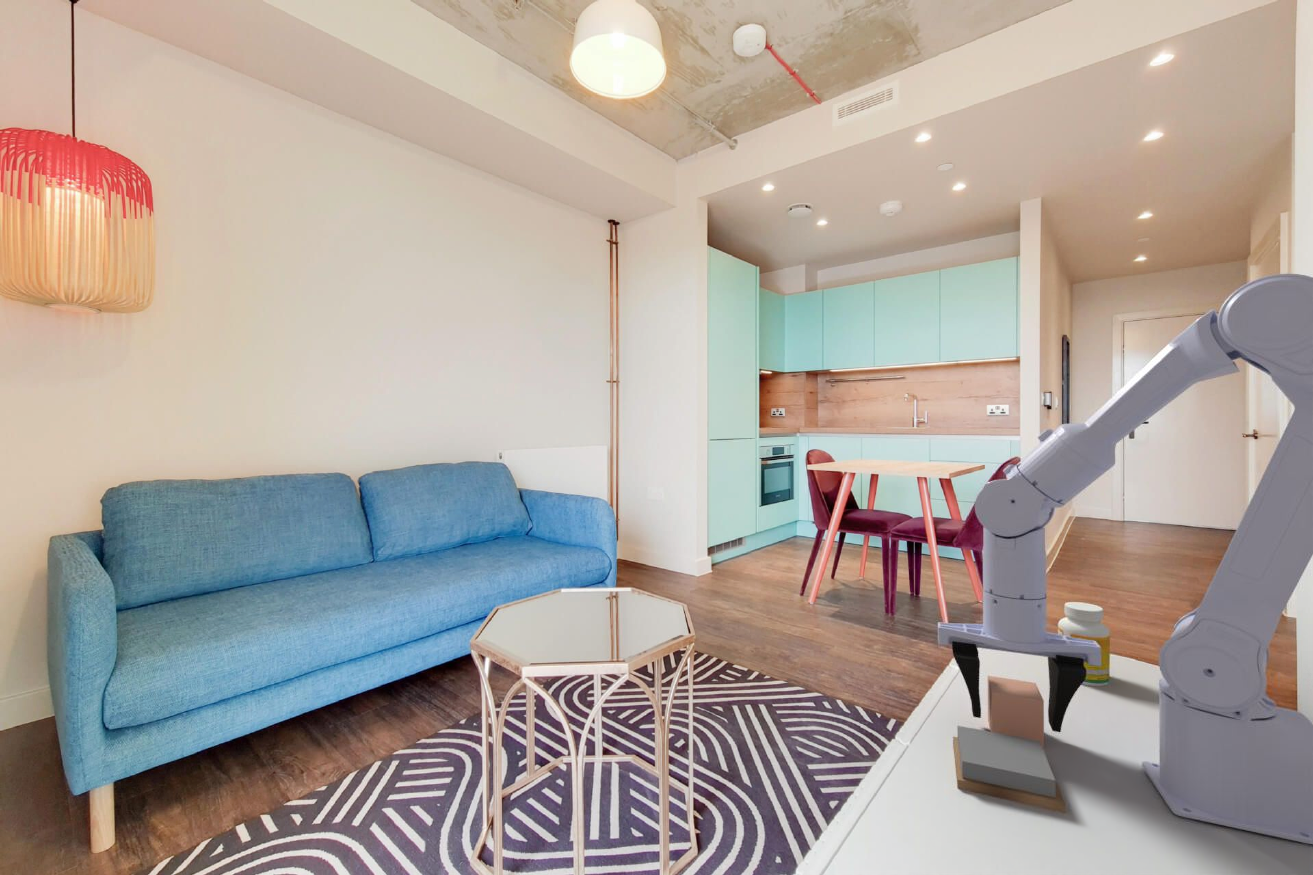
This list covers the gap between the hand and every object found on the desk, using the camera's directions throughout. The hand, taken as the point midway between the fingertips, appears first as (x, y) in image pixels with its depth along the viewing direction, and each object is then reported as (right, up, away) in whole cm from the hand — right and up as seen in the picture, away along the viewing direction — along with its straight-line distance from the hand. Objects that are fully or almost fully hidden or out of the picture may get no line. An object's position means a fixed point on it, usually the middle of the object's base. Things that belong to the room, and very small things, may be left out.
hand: (1014, 720), depth 60 cm
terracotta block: (0, -2, 0) cm, 2 cm away
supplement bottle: (+17, -2, +13) cm, 22 cm away
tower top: (-6, -1, -7) cm, 9 cm away
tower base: (-6, -2, -7) cm, 9 cm away
